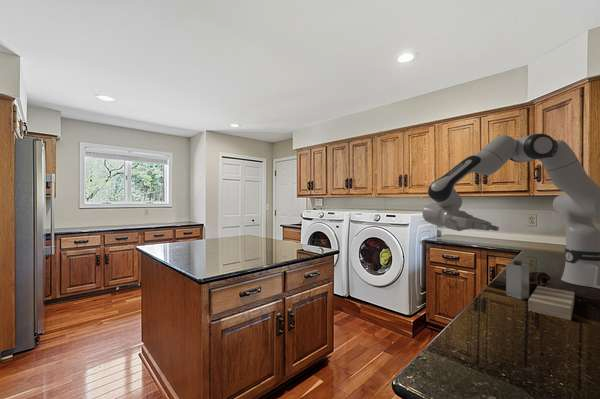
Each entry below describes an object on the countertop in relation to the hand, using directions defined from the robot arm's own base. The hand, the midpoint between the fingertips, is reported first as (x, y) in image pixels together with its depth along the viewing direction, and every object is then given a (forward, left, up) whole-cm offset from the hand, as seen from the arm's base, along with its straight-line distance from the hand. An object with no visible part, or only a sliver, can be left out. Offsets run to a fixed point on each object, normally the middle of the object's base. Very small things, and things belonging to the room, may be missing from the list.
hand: (492, 228), depth 115 cm
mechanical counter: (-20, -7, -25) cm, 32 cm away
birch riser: (-10, +17, -24) cm, 31 cm away
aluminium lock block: (-5, +7, -24) cm, 26 cm away
